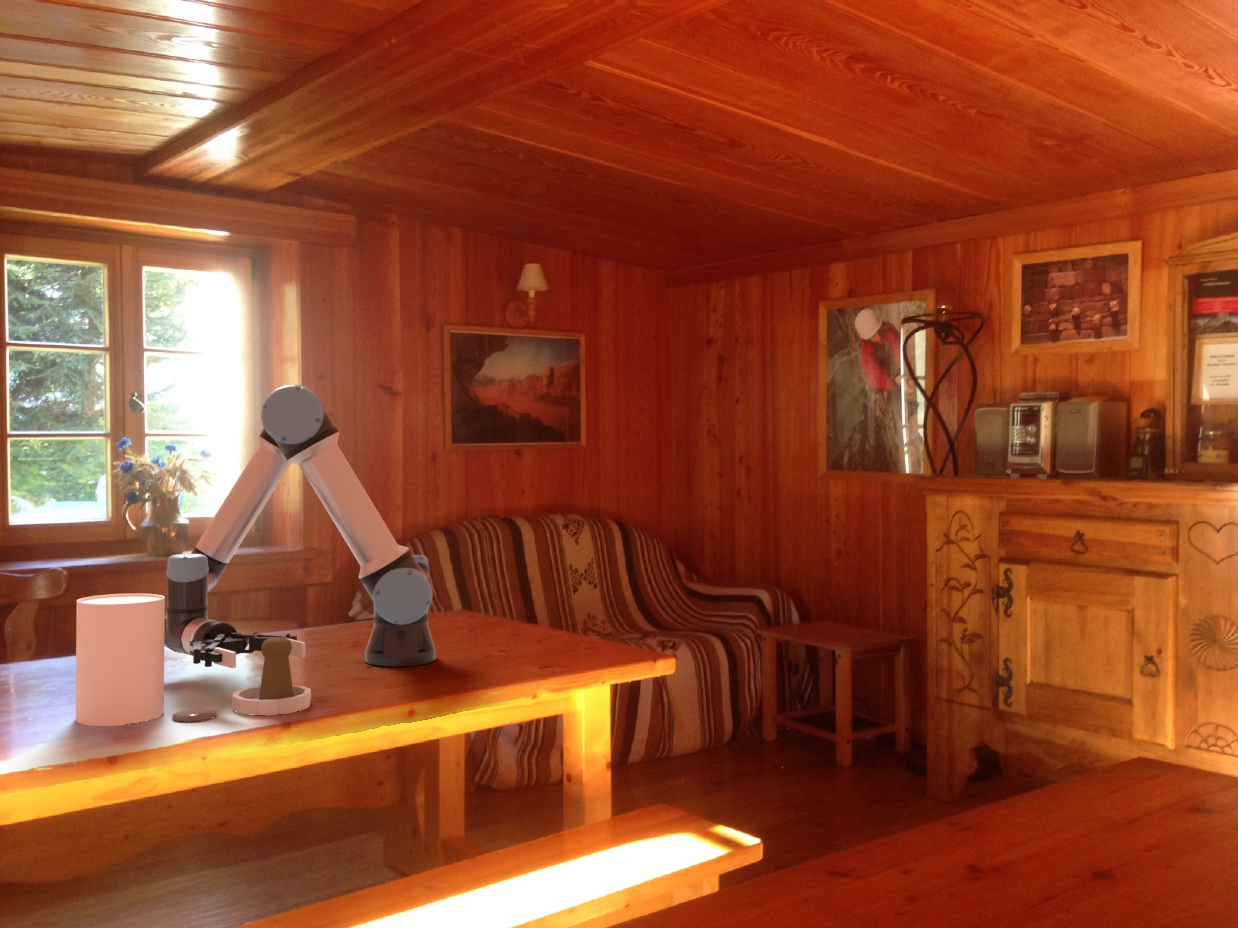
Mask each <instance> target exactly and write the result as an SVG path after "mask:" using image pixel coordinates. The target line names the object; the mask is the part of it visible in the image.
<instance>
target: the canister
mask: <svg viewBox="0 0 1238 928" xmlns="http://www.w3.org/2000/svg"><path fill="white" fill-rule="evenodd" d="M165 597H166V596H164V595H162V594H156V593H154V594H153V593H113V594H111V593H110V594H102V595H101V594H100V595H91V596H87V597H86V596H85V597H81V598H78V599H77V600H76V623H75V625H76V626H75V627H76V629H75V630H76V633H75V634H76V636H75V637H76V639H75V641H76V643H75V644H76V645H75V650H76V651H75V653H76V654H75V722H76V723H78V724H80V725H84V726H89V727H115V726H117V727H119V726H125V724H128V725H131V724H130V723H135V724H140V723H139V722H141V723H144V722H143V721H145V722H147V721H146V720H149V721H152V720H151V719H153V720H155V719H154V718H156V717H158V718H160V717H162V716H163V715H164V712H165V711H164V710H165V709H164V706H165V698H164V697H165V646H164V625H165V616H166V614H165V613H166V610H165V607H166V605H165V604H166V598H165ZM162 714H163V715H162ZM161 715H162V716H161ZM156 719H157V718H156Z"/></svg>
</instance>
